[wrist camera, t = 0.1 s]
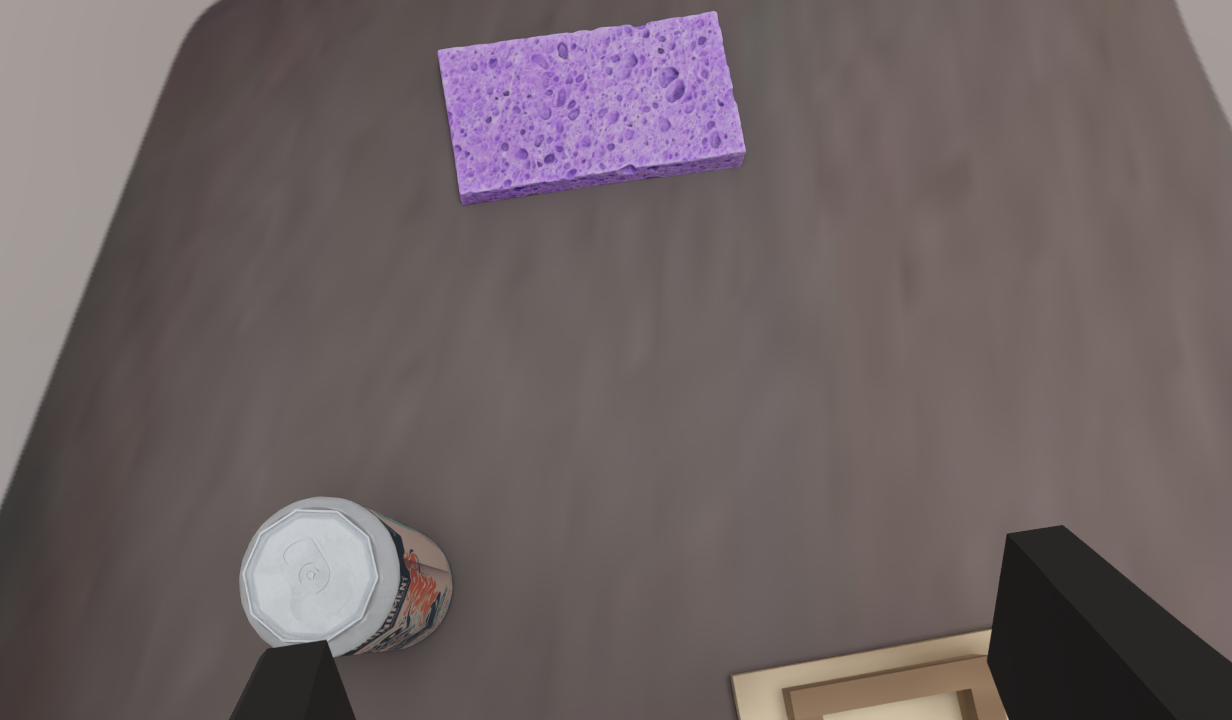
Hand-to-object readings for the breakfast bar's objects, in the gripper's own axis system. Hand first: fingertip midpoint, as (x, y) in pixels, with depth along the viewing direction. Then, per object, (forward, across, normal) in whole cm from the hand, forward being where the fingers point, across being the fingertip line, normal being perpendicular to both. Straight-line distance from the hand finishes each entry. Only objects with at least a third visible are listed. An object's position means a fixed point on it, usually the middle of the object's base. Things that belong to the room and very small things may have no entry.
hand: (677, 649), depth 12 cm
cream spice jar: (+24, +9, +22) cm, 34 cm away
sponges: (+38, -2, +10) cm, 40 cm away
